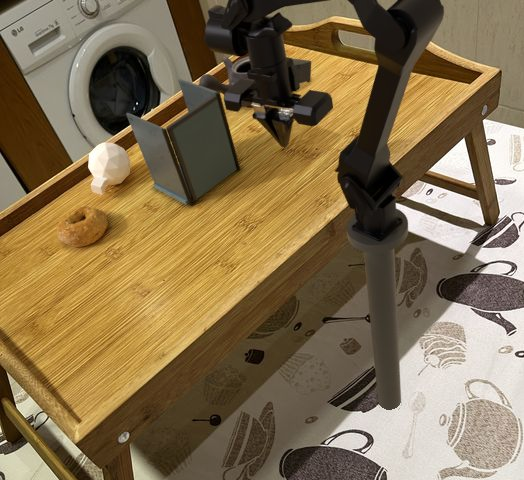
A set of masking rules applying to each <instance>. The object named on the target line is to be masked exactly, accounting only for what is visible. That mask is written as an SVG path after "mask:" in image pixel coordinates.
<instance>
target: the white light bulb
mask: <svg viewBox="0 0 524 480" xmlns="http://www.w3.org/2000/svg"><path fill="white" fill-rule="evenodd" d="M131 161H132V160H131V158H130V157H129V155H128V153H127V151H126V150H125V148H124V147H122V146H120V145H119V144H117V143H114V142H111V141H110V142H108V141H103V142H101V143H99V144H97V145H96V146H95V147H94V148H93V149H92V151H91V152H90V153H89V154H88V163H87V164H88V166H87V168H88V170H89V171H90V173H91V175H92V177H93V179H92V181H91V183H90V188H91V192H92V193H93V194H97V195H101V196H103V195H104V194H105V191H106V190H107V186H116V185H119V184H122V182H124V180H125V179H126V178H127V177H129V175H130V173H131Z"/></svg>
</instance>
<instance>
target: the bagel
mask: <svg viewBox="0 0 524 480" xmlns="http://www.w3.org/2000/svg"><path fill="white" fill-rule="evenodd" d="M108 222H109V221H108V216H107V214H106V212H104V211H103V210H102V209H99V208H95V207H90V206H85V205H84V206H80V207H77V208H76V209H75V210H73V211H72V212H70V213H69V214H67V215H65V216H63V217H62V218H60V220H59V221H58V224H57V226H56V234H57V235H56V236H57V238H58V239H59V241H60V242H63V243H64V244H65V245H69V246H72V247H74V248H81V247H85V246H89V245H92V244H94V243H95V242H97V241H99V240H100V239H101V238H102V236H103V235H104V234H105V233H106V230H107V229H108V227H109V223H108Z"/></svg>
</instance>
